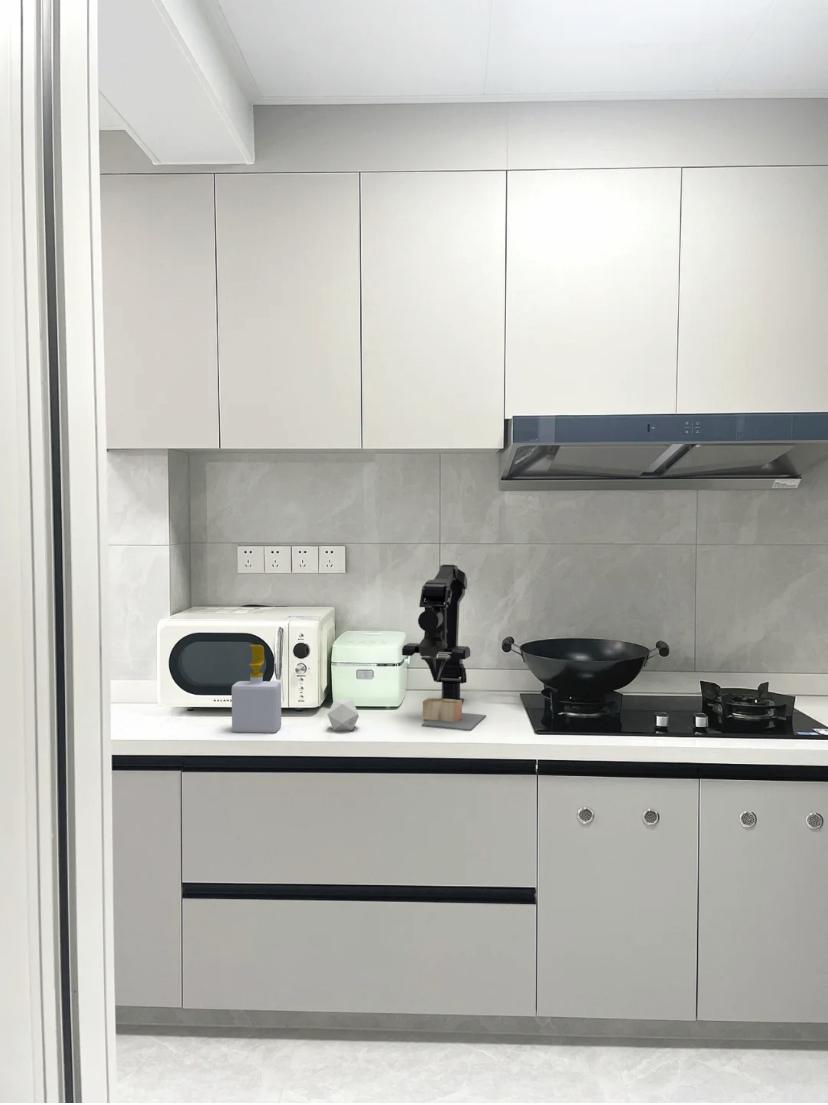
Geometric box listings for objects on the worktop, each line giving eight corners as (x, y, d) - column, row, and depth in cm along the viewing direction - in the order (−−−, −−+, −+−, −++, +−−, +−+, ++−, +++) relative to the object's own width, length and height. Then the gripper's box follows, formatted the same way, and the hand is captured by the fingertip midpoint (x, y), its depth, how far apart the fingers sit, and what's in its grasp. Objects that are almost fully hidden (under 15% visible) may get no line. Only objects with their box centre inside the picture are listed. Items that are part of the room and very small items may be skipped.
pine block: (428, 697, 237) (461, 700, 234) (428, 714, 238) (461, 717, 234) (422, 701, 233) (456, 704, 229) (422, 718, 233) (456, 722, 230)
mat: (439, 712, 242) (439, 710, 242) (486, 716, 238) (486, 714, 237) (421, 726, 227) (421, 724, 227) (470, 730, 223) (470, 729, 222)
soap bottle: (231, 732, 221) (230, 645, 219) (238, 726, 227) (237, 641, 226) (276, 733, 220) (275, 646, 219) (281, 726, 227) (281, 642, 225)
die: (346, 737, 218) (365, 706, 221) (318, 720, 220) (338, 689, 222) (348, 740, 226) (366, 710, 229) (321, 723, 227) (340, 693, 230)
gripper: (394, 628, 228) (394, 684, 229) (459, 632, 222) (459, 689, 223) (408, 623, 239) (408, 676, 240) (471, 626, 232) (470, 681, 233)
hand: (435, 681), depth 234 cm, fingers closed
